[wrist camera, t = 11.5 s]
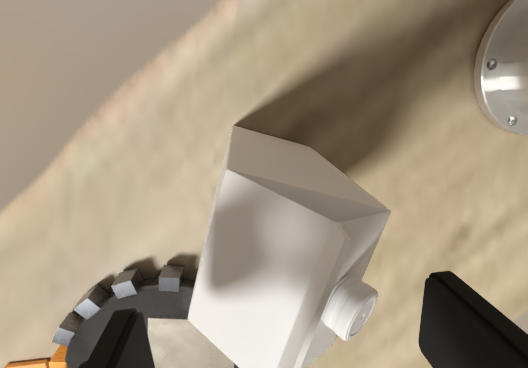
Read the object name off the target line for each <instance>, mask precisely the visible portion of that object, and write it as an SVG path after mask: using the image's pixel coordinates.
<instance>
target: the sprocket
mask: <svg viewBox="0 0 528 368" xmlns="http://www.w3.org/2000/svg"><path fill="white" fill-rule="evenodd" d="M194 285H195V281H192V280H187V279H183V266H176V265H164V266H163V269H162V271H161V273H160V276H159V278H155V279H147V280H143V278H142V276H141V274H140V272H139V270H138V268H135V269H132V270H128V271H125V272H122V273H119V275H118V276H117V278H116V279H115V281H114V282H113V284H112V286H111V287H112V289H113V292H111V293H110V294H108V293H107V292H106V291H105V290H104V289H102V288H101V287H100V286H99V285H96V286H95V287H93V288H92V289H91V290H90V291H88V292H87V293H86V294H84V296H83V297H82V298H81V300H80V301H79V302H78V304H77V305H76V306H75V308H74V309H73V310H75V311H76V312H77V313H78V314H80V315H81V316H80V315H77V314H74V313H71V312H70V313H69V314H68V316H67V317H66V318H65V320H64V321H63V322H62V324H61V325H60V326H59V328H58V330H57V332H56V334H55V336H54V339H53V341H52V342H54V343H58V344H61V345H60V347H59V348H58V350H57V351H56V352H55V354H54V355H53V357H52V358H51V360H50V361H49V368H78V367H79V366H80V364H81V363H83V362H84V361H87V360H88V359H89V357H90V355H91V353H92V351H93V349H94V348H95V346H96V344H97V342H98V340H99V338H100V336H101V335H102V333H103V331H104V329H105V327H106V325H107V324H108V322H109V320H110V318H111V316H112V314H113V313H114V311H116V310H122V309H130V308H135V309H136V310H137V312H142V313H143V316H144V321H145V325H146V330H147V334H148V338H149V343H150V347H151V352H152V356H153V361H154V365H155V368H239V367H238V366H237V365H236V364H235V363H234V362H233V361H231V360H230V359H229V358H228V357H227V356H226V355H225V354H224V353H223V352H222V351H221V350H220V349H219V348H217V347H216V346H215V345H214V344H213V343H212V342H211V341H210V340H209V339H208V338H207V337H206V336H205V335H203V334H202V333H201V332H200V331H199V330H198V329H197V328H196V327H195V326H194V325H193V324H192V323H191V322H190V321H189V320H188V313H189V308H190V303H191V299H192V294H193V290H194Z"/></svg>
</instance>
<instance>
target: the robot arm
mask: <svg viewBox="0 0 528 368" xmlns="http://www.w3.org/2000/svg"><path fill="white" fill-rule="evenodd" d="M474 87H475V93H476V98H477V100H478V103H479V105H480V108H481V110H482V111H483V113H484V114H485V116H486V117H487V118H488V119H489V120H490V121H491V122H492V123H493V124H494V125H495V126H497V127H499V128H501V129H503V130H504V131H507V132H511V133H515V134H521V135H528V0H510V1H509V2H508V3H507V4H506V5H505V6H504V7H503V8H502V9H501V10H500V11H499V12H498V14H497V15H496V16H495V18H494V19H493V21H492V22H491V23H490V25H489V27H488V29H487V31H486V33H485V34H484V36H483V38H482V41H481V44H480V47H479V49H478V52H477V56H476V61H475V67H474ZM419 347H420V349H421V352H422V353H423V355H424V356H425V357H426V359H427V360H428V362H429V363H430V364H431V366H432V367H433V368H528V334H526V333H525V332H524V331H523V330H522V329H520V328H519V327H518V326H517V325H516V324H514V323H513V322H512V321H511V320H510V319H508V318H507V317H506V316H505V315H503V314H502V313H501V312H500V311H499V310H497V309H496V308H495V307H494V306H493V305H491V304H490V303H489V302H488V301H486V300H485V299H484V298H483V297H482V296H480V295H479V294H478V293H477V292H476V291H474V290H473V289H472V288H471V287H469V286H468V285H467V284H466V283H465V282H463V281H462V280H461V279H460V278H459V277H457V276H456V275H455V274H454V273H452V272H451V271H444V272H435V273H431V274H430V276H429V278H427V279H426V281H425V288H424V297H423V306H422V315H421V323H420V332H419ZM78 368H155V365H154V361H153V356H152V352H151V347H150V343H149V338H148V334H147V330H146V325H145V321H144V316H143V313H142V312H137V310H136V309H135V308H130V309H122V310H116V311H114V313H113V314H112V316H111V318H110V320H109V322H108V324H107V325H106V327H105V329H104V331H103V333H102V335H101V336H100V338H99V340H98V342H97V344H96V346H95V348H94V349H93V351H92V353H91V355H90V357H89V359H88V360H87V361H84V362H83V363H81V364H80V366H79V367H78Z"/></svg>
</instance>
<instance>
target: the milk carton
mask: <svg viewBox="0 0 528 368" xmlns="http://www.w3.org/2000/svg"><path fill="white" fill-rule="evenodd" d="M389 214H390V210H388V209H387V208H386V207H385V206H384V205H383V204H381V203H380V202H379V201H378V200H376V199H375V198H374V197H373V196H371V195H370V194H369V193H368V192H366V191H365V190H364V189H363V188H361V187H360V186H359V185H358V184H356V183H355V182H354V181H353V180H351V179H350V178H349V177H347V176H346V175H345V174H344V173H342V172H341V171H340V170H339V169H337V168H336V167H335V166H334V165H332V164H331V163H330V162H329V161H327V160H326V159H325V158H324V157H322V156H321V155H320V154H319V153H317V152H316V151H315V150H313V149H312V148H311V147H309V146H305V145H302V144H298V143H295V142H291V141H287V140H284V139H280V138H277V137H273V136H270V135H266V134H262V133H259V132H255V131H252V130H248V129H245V128H241V127H237V126H233V127H232V130H231V133H230V137H229V141H228V145H227V149H226V153H225V157H224V161H223V164H222V168H221V172H220V176H219V180H218V184H217V188H216V192H215V196H214V200H213V205H212V209H211V214H210V218H209V223H208V227H207V232H206V236H205V241H204V245H203V250H202V254H201V259H200V263H199V268H198V272H197V277H196V281H195V285H194V290H193V294H192V299H191V303H190V308H189V313H188V320H189V321H190V322H191V323H192V324H193V325H194V326H195V327H196V328H197V329H198V330H199V331H200V332H201V333H202V334H203V335H205V336H206V337H207V338H208V339H209V340H210V341H211V342H212V343H213V344H214V345H215V346H216V347H217V348H219V349H220V350H221V351H222V352H223V353H224V354H225V355H226V356H227V357H228V358H229V359H230V360H231V361H233V362H234V363H235V364H236V365H237V366H238V367H239V368H306V367H307V366H308V365H310V364H311V363H312V362H313V361H314V360H316V359H317V358H318V357H319V356H321V355H322V354H323V353H324V352H325V351H327V350H328V349H329V348H330V347H331V346H332V345H333V343H334V341H335V339H336V337H337V335H338V336H339V337H340V338H342V339H343V340H344V341H348V340H350V339H352V338H353V337H354V336H355V335H357V333H358V332H359V331H360V330H361V329H362V328H363V326H364V325H365V323H366V322H367V320H368V319H369V317H370V315H371V313H372V311H373V309H374V307H375V304H376V301H377V297H378V292H377V291H376V290H375V289H374V288H372V287H371V286H369V285H368V284H365V283H364V282H362V277H363V275H364V273H365V271H366V268H367V266H368V264H369V261H370V259H371V257H372V254H373V252H374V250H375V248H376V245H377V243H378V241H379V238H380V236H381V234H382V231H383V229H384V227H385V224H386V222H387V220H388V217H389Z"/></svg>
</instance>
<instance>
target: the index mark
mask: <svg viewBox="0 0 528 368" xmlns="http://www.w3.org/2000/svg"><path fill="white" fill-rule="evenodd" d="M4 368H49V361H48V359H44V360H35V361H27V362H18V363H9V364H7V365H6V366H5V367H4Z"/></svg>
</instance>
